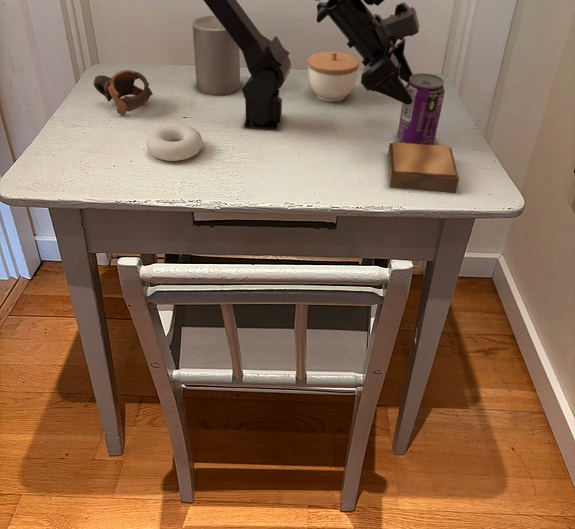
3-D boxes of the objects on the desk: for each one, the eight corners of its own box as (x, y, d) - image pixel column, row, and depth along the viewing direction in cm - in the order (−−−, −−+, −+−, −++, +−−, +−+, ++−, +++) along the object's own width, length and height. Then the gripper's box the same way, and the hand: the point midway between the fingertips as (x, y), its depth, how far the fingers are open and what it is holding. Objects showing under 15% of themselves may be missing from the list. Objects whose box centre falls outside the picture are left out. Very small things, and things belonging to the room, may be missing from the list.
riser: (389, 187, 95) (392, 171, 93) (387, 155, 104) (389, 140, 102) (455, 192, 95) (459, 176, 93) (448, 159, 103) (451, 145, 101)
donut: (141, 145, 105) (157, 169, 98) (138, 127, 103) (154, 151, 96) (192, 134, 109) (211, 157, 102) (190, 117, 106) (210, 139, 99)
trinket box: (337, 82, 129) (341, 40, 123) (365, 100, 122) (370, 56, 116) (297, 91, 125) (298, 48, 119) (323, 110, 118) (326, 65, 112)
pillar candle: (193, 80, 129) (188, 10, 119) (236, 76, 131) (233, 7, 121) (200, 97, 121) (195, 24, 112) (245, 93, 124) (243, 21, 114)
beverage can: (433, 152, 105) (447, 89, 98) (395, 147, 106) (405, 85, 99) (434, 134, 111) (446, 74, 103) (397, 130, 112) (407, 70, 104)
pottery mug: (156, 97, 122) (157, 72, 114) (144, 133, 118) (144, 109, 111) (100, 81, 120) (97, 54, 113) (86, 117, 116) (82, 91, 109)
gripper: (390, 6, 86) (449, 85, 91) (399, -23, 100) (451, 46, 105) (335, 53, 92) (394, 124, 98) (351, 20, 106) (402, 83, 112)
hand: (412, 92), depth 103 cm, fingers open, 9 cm apart
